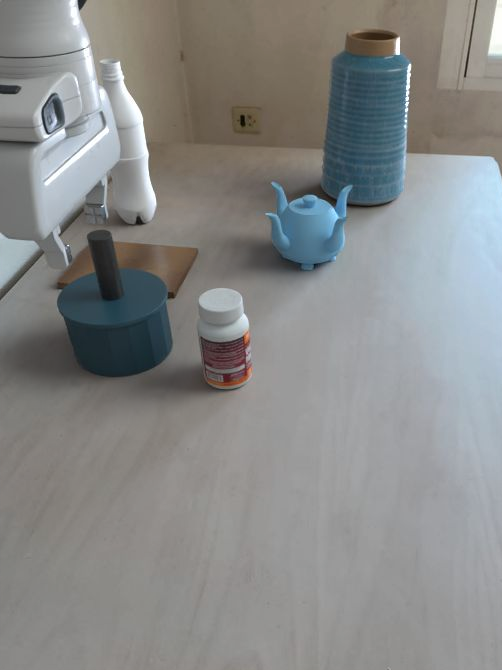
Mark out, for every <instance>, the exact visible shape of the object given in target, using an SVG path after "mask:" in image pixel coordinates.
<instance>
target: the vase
mask: <svg viewBox="0 0 502 670" xmlns="http://www.w3.org/2000/svg"><path fill="white" fill-rule="evenodd" d="M400 39H401V37H400V35H399V33H397V32H394V31H391V30H387V29H381V28H380V29H378V28H358V29H353V30H349V31H347V32H346V34H345V40H344V49H342V50H340V51H339V52H338V53H336V54H335V55H333V57H332V58H331V60H330V70H329V71H330V74H329V83H328V84H329V85H328V97H327V109H326V111H327V112H326V119H325V122H326V123H325V134H324V140H323V149H322V152H323V154H322V165H321V177H320V186H321V189H322V191H323V192H324V193H325V194H326V195H327V196H328V197H330V198H332V199H333V200H335V201H337V200H338V197H339V194H340V192H341V191H342V190H343V189H344V188H345V187H346V186H349V185H353V187H352V188H351V190H350V191H349V193H348V195H347V199H346V205H347V204H348V205H351V206H359V207H370V206H371V207H374V206H379V205H385V204H387V203H389V202H391V201H394V200H395V199H397V198H399V197H400V196H401V195H402V194H403V193H404V190H405V176H406V165H407V160H406V159H407V158H406V157H407V147H408V144H407V141H408V138H407V137H408V124H409V122H408V120H409V110H410V109H409V108H410V107H409V104H410V91H411V90H410V88H411V83H410V82H411V76H412V75H411V74H412V73H411V72H412V71H411V70H412V62H411V60H410V59H409V58H407V56H405V54H403V52H401V51H400V47H401V46H400V44H401V40H400Z"/></svg>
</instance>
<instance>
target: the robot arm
mask: <svg viewBox="0 0 502 670" xmlns="http://www.w3.org/2000/svg"><path fill="white" fill-rule="evenodd" d="M87 1H88V0H0V234H1V235H2V236H3V237H5V238H6V239H8V240H16V241H17V240H18V241H29V242H34V243H35V244H36V245H37V246H38V247H39V248H40V249H41V251H43V253H44V257H45V260H46V263H47V265H48V267H49V268H51V270H52V269H53V270H67V269H68V267H69V266H70V265H71V264H72V261H73V259H74V258H73V255H72V250H71V247H70V244H67V243H63V241H62V239H61V238H60V236H59V235H60V234H61V227H60V224H61V223H62V222H63V221H64V220H65V218H67V216H68V215H70V213H71V212H72V211H73V210H74V209H75V208H76V207H77V206H78V204H80V203H81V201H83V200H84V198H85V203H86V204H85V205H84V206H83V212H84V214H85V219H86V222H87V223H88V224H90V225H98V226H101V225H103V224H104V223H105V222H106V220H107V219H108V218H109V212H108V206H107V198H108V197H107V196H108V195H107V194H108V176H107V174H109V172H110V169H111V168H112V167H113V166H114V165H115V164H116V163H117V162H118V161H119V159H120V141H119V136H118V132H117V127H116V123H115V119H114V115H113V111H112V107H111V103H110V100H109V97H108V94H107V92H106V90H105V89H104V88H103V85H99V81H98V76H97V70H96V65H95V61H94V60H95V59H94V54H93V50H92V44H91V39H90V36H89V33H88V31H87V28H86V26H85V24H84V21H83V20H82V15H81V13H80V11H81V10H82V9H83V8H84V6H85V4H86V2H87Z"/></svg>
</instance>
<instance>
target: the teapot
mask: <svg viewBox="0 0 502 670" xmlns="http://www.w3.org/2000/svg"><path fill="white" fill-rule="evenodd" d="M270 183H271V186H272V187H273V189H274V191H275V195H276V213H274V212H273V213H271V212H267V213H265V214H264V215H265V216H267V217H268V218H269V219H270V223H271V226H270V227H271V228H270V237H271V238H270V239H271V241H272V243H273V244H274V246H275V248H276V250H277V251H278V252H279V253H280V254H281V256H282V258H284V259H288V260H289V261H292V262H295V263H298V264H301V265H300V266H301V267H300V269H302V270H304V271H312V270H313V269H314V268H315V266H314V265H315V264H322V263H326V262H328V261H329V262H333V261H336V259H337V255H338V254H339V253H340V252H341V251H342V250H343V248H344V247H345V244H346V239H345V237H346V236H345V230H344V226H345V222H346V221H348V220H349V217H347V204H346V199H347V195H348V193H349V191H350V190H351V188H352V187H353V185H349V186H346V187H345V188H344V189H343V190H342V191H341V192H340V194H339V197H338V200H336V204H335V207H333V206H332V204H330V202H328V201H326V200H324V199H322V198H319V197H317V196H316V195H314V194H305V195H303V196H302V197H300V198H296V199H294V200H292V201H290V202H289V203H288V201H287V200H288V199H287V197H286V194H285V191H284V189H283V187H282V186H281V185H280V184H279V183H277V182H275V181H271V182H270Z"/></svg>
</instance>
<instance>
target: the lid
mask: <svg viewBox="0 0 502 670" xmlns="http://www.w3.org/2000/svg"><path fill="white" fill-rule="evenodd" d="M86 240H87V245H88V244H89V248H90V252H91V256H92V260H93V264H94V269H95V272H93V273H90V274H87V275H84V276H82V277H80V278H78V279H76V280H74V281H72V282H71V283H69V284H68V285H67V286H66V287H64V289H61V291H60V292H59V293H58V296H57V299H56V306H57V309H58V312H59V314H60V316H61V317H62V318H63V317H64V318H65V319H66V320H67V321H69V322H71V323H73V324H75V325H78V326H82V327H86V328H94V329H111V328H119V327H125V326H129V325H132V324H136V323H139V322H141V321H143V320H146V319H148V318H150V317H151V316H153V315H154V314H156V313H157V312H158V311H159V310H160V309H161V308H162V307H163V306H164V305H165V303H166V304H167V300H168V291H167V287H166V285H165V283H164V282H163V281H162V280H161V279H160V278H159V277H158V276H156V275H154V274H152V273H149V272H146V271H143V270H138V269H128V268H119V266H118V262H117V257H116V252H115V248H114V243H113V241H114V239H113V235H112V232H111V231H110V230H107V229H95V230H93V231H90V232H88V233H87V235H86ZM64 318H63V319H64Z"/></svg>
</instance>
